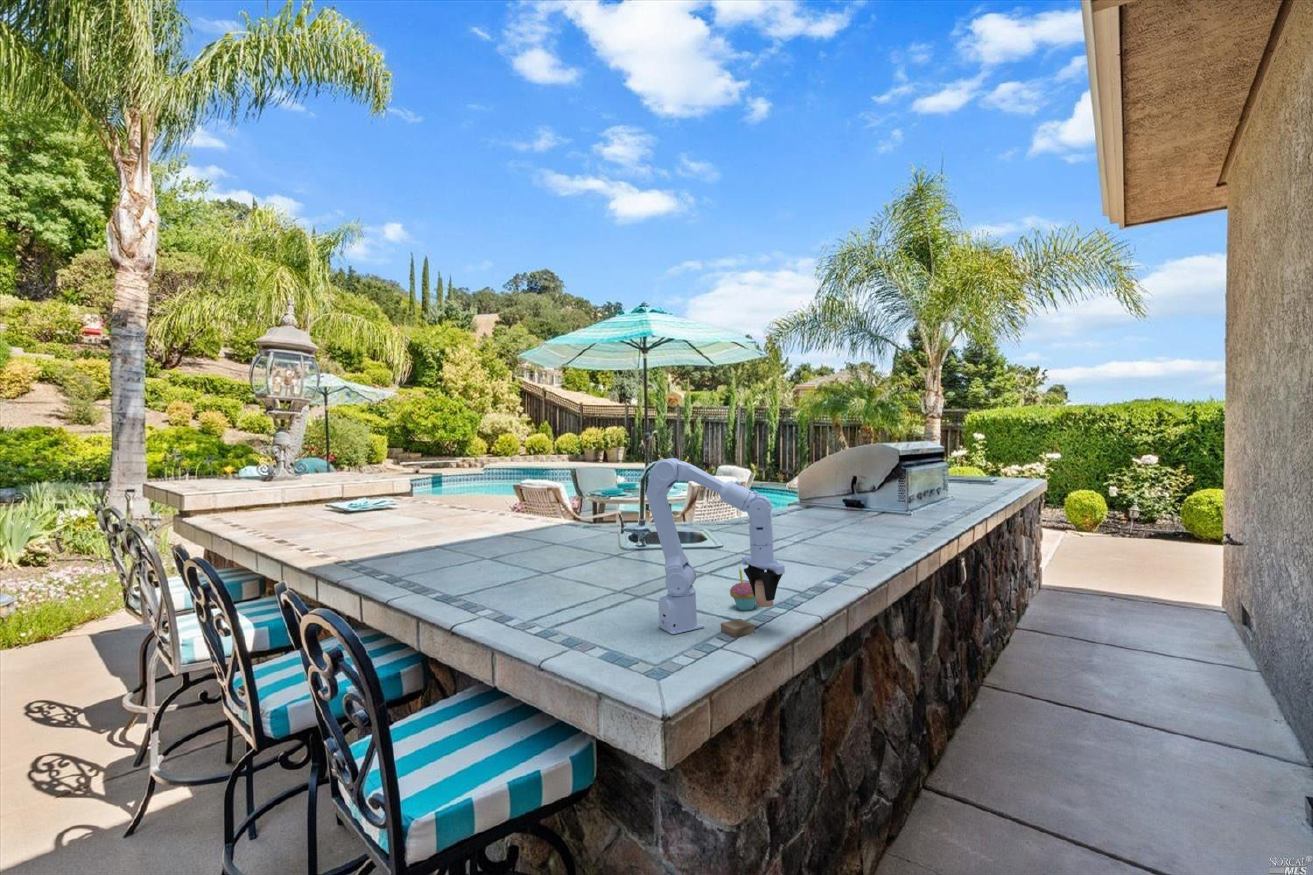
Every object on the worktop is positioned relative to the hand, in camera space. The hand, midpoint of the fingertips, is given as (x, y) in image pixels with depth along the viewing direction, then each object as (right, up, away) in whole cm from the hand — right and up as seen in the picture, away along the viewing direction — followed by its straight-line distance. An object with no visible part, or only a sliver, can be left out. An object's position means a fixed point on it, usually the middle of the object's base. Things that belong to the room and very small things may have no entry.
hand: (764, 597), depth 144 cm
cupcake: (-2, -9, +20) cm, 22 cm away
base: (-7, -8, 0) cm, 11 cm away
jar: (0, -2, 0) cm, 2 cm away
